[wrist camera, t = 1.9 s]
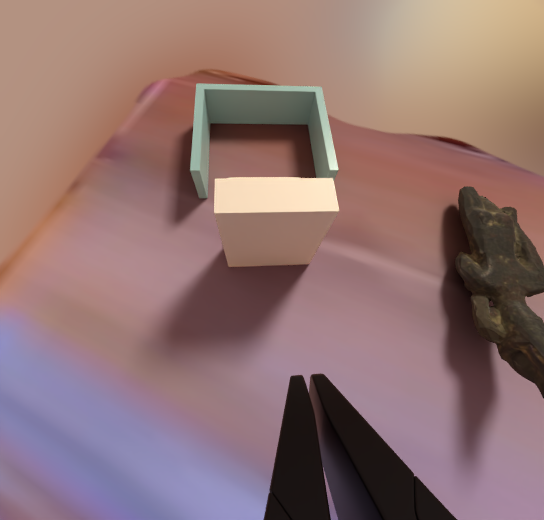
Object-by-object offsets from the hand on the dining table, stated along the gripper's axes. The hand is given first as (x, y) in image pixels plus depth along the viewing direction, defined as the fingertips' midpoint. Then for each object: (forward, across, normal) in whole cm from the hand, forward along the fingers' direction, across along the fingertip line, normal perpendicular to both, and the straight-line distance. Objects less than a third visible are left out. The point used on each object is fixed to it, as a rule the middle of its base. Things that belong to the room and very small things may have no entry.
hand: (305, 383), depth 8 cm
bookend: (+19, 0, -1) cm, 19 cm away
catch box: (+24, 0, -6) cm, 25 cm away
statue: (+14, -20, +4) cm, 24 cm away
